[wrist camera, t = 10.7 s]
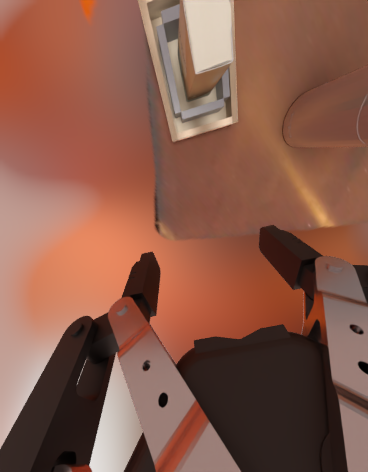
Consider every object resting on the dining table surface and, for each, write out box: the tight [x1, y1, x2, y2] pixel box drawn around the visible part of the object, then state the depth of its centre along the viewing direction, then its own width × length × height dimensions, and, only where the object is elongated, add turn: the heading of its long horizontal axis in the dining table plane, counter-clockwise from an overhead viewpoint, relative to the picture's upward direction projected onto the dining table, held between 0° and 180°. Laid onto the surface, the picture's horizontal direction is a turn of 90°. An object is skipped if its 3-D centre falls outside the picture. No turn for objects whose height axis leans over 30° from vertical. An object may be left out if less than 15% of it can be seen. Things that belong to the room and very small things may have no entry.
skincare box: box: [178, 0, 233, 102], centre depth 19 cm, size 6×4×12 cm
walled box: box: [138, 0, 238, 142], centre depth 23 cm, size 12×16×4 cm
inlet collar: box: [156, 4, 230, 123], centre depth 22 cm, size 9×11×4 cm
